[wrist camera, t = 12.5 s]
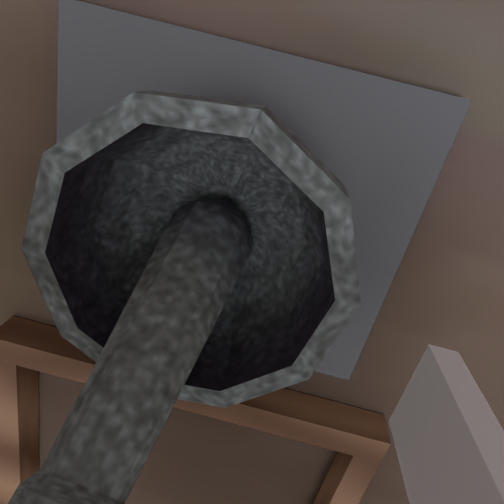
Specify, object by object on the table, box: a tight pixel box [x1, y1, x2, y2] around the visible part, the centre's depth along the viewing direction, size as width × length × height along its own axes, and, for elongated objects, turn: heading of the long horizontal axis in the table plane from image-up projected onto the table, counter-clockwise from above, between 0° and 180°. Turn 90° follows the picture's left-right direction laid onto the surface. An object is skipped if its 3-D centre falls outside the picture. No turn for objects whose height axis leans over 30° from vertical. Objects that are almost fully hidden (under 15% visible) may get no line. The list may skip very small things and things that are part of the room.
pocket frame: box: [0, 316, 391, 504], centre depth 26 cm, size 19×22×2 cm
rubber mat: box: [56, 0, 472, 380], centre depth 18 cm, size 14×16×1 cm
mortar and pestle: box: [8, 90, 361, 504], centre depth 12 cm, size 11×9×12 cm
